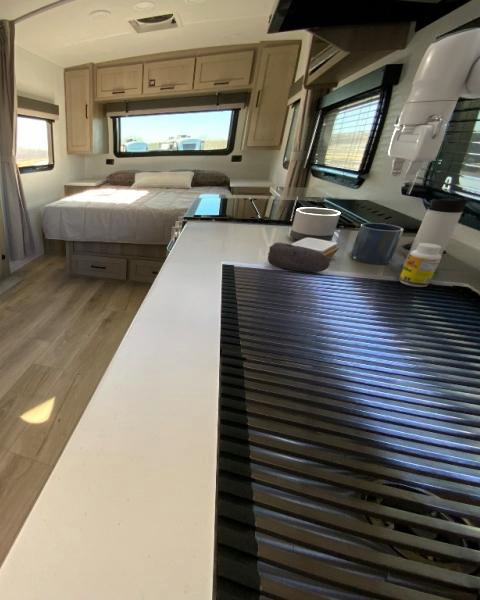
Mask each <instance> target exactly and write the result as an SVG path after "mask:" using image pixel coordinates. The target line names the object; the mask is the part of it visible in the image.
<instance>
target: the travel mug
mask: <svg viewBox="0 0 480 600" xmlns="http://www.w3.org/2000/svg"><path fill="white" fill-rule="evenodd" d="M470 201H471V198H437V199H434V198H433V199H432V200H431V201H430V206H429V207H428V208H427V211H426V213H425V215H424V217H423V219H422V222H421V224H420V227H419V229H418V231H417V233H416V235H415V237H414V240H413V242H412V245H411V247H410V249H409V252H408V253H407V256H406V259H405V260H404V263H403V264H402V267H401V268H402V270H403V268H404V266H405V264H406V262H407V259H408V257H409V255H410V253H411V252H412V251H413V250H416V249H417V247H418V245H419V243H431V244H436V245H439V246H441V249H440V252H439V254H440V255H441V256H442V255H443V253H444V251H445V249H446V247H447V245H448V243H449V241H450V239H451V237H452V235H453V233H454V231H455V229H456V227H457V224H458V222H459V220H460V218H461V216H462V214H463V212H464V209H465V207H466V205H467V203H469V202H470Z"/></svg>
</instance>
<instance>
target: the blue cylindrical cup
mask: <svg viewBox="0 0 480 600" xmlns="http://www.w3.org/2000/svg"><path fill="white" fill-rule="evenodd" d="M404 230H405V228H403V227H401V226H398V225H394V224H386V223H379V222H364V223H361V224H360V227H359V229H358V232H357V234H356V238H355V240H354V243H353V245H352V248H351V252H350V255H349V257H350V259H352V260H354V261H356V262H359V263H364V264H368V265H379V266H383V265H389V264H390V263H391V261H392V259H393V257H394V254H395V251H396V249H397V247H398V244H399V242H400V241H401V237H402V235H403V233H404Z"/></svg>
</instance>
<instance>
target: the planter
mask: <svg viewBox="0 0 480 600" xmlns="http://www.w3.org/2000/svg"><path fill="white" fill-rule="evenodd" d="M341 213H342V212H340V211H338V210H335V209H329V208H321V207H299V208H297V209H296V210H295V214H294V217H293V221H292V225H291V229H290V233H289V236H290V237H291V238H292V239H294V240H296V242H297V241H299V240H302V239H304V238H315V239H320V240H326V241H331V242H332V240H333V238H334V236H335V231H336V229H337V226H338V223H339V220H340V216H341Z"/></svg>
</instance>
